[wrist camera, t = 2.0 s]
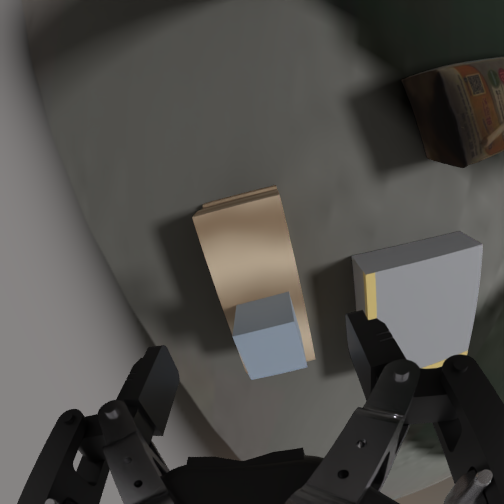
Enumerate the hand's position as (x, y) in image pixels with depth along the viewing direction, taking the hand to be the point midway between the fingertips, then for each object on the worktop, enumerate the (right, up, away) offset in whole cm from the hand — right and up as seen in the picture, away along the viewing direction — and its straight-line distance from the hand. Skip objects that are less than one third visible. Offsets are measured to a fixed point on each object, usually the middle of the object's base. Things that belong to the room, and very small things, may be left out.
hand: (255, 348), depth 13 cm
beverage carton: (+22, +19, +8) cm, 30 cm away
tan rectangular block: (+1, +2, +14) cm, 15 cm away
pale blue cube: (+1, -1, +10) cm, 10 cm away
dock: (+16, -1, +15) cm, 22 cm away
